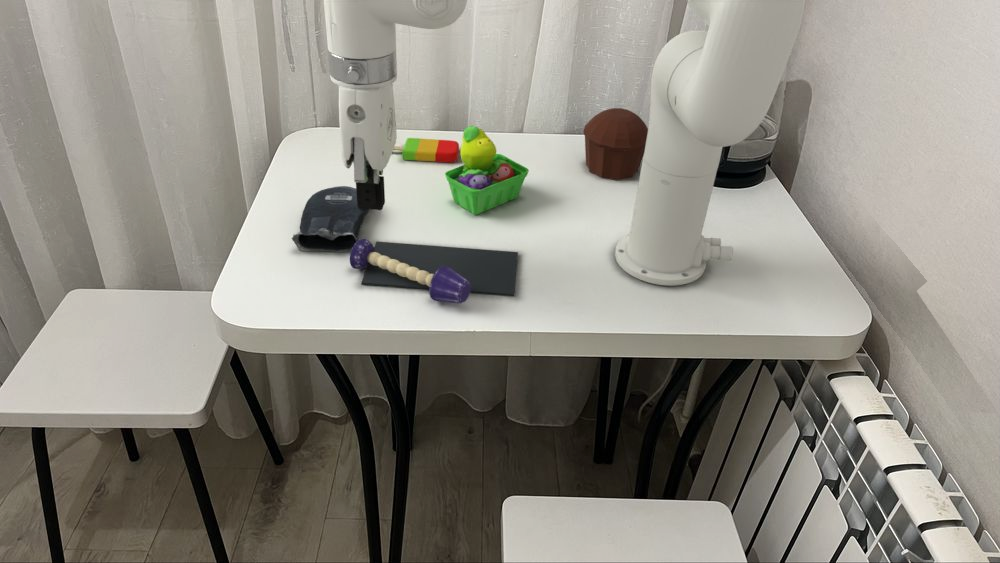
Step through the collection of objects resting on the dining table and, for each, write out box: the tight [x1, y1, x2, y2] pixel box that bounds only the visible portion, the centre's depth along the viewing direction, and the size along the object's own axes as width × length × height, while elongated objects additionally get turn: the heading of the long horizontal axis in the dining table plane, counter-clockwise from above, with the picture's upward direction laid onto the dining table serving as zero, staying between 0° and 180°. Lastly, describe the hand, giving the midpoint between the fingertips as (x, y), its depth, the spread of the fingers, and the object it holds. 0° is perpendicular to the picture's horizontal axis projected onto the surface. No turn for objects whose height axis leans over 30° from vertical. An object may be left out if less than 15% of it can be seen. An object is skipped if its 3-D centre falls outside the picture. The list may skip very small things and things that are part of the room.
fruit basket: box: [444, 125, 530, 216], centre depth 114 cm, size 11×9×11 cm
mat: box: [360, 241, 519, 297], centre depth 101 cm, size 20×10×1 cm, turn 87°
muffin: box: [582, 107, 648, 181], centre depth 125 cm, size 12×11×10 cm
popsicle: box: [393, 137, 460, 163], centre depth 128 cm, size 6×15×2 cm, turn 88°
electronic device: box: [291, 185, 370, 253], centre depth 108 cm, size 9×6×15 cm
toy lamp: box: [349, 237, 471, 304], centre depth 96 cm, size 5×5×17 cm
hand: (371, 206), depth 95 cm, fingers closed
